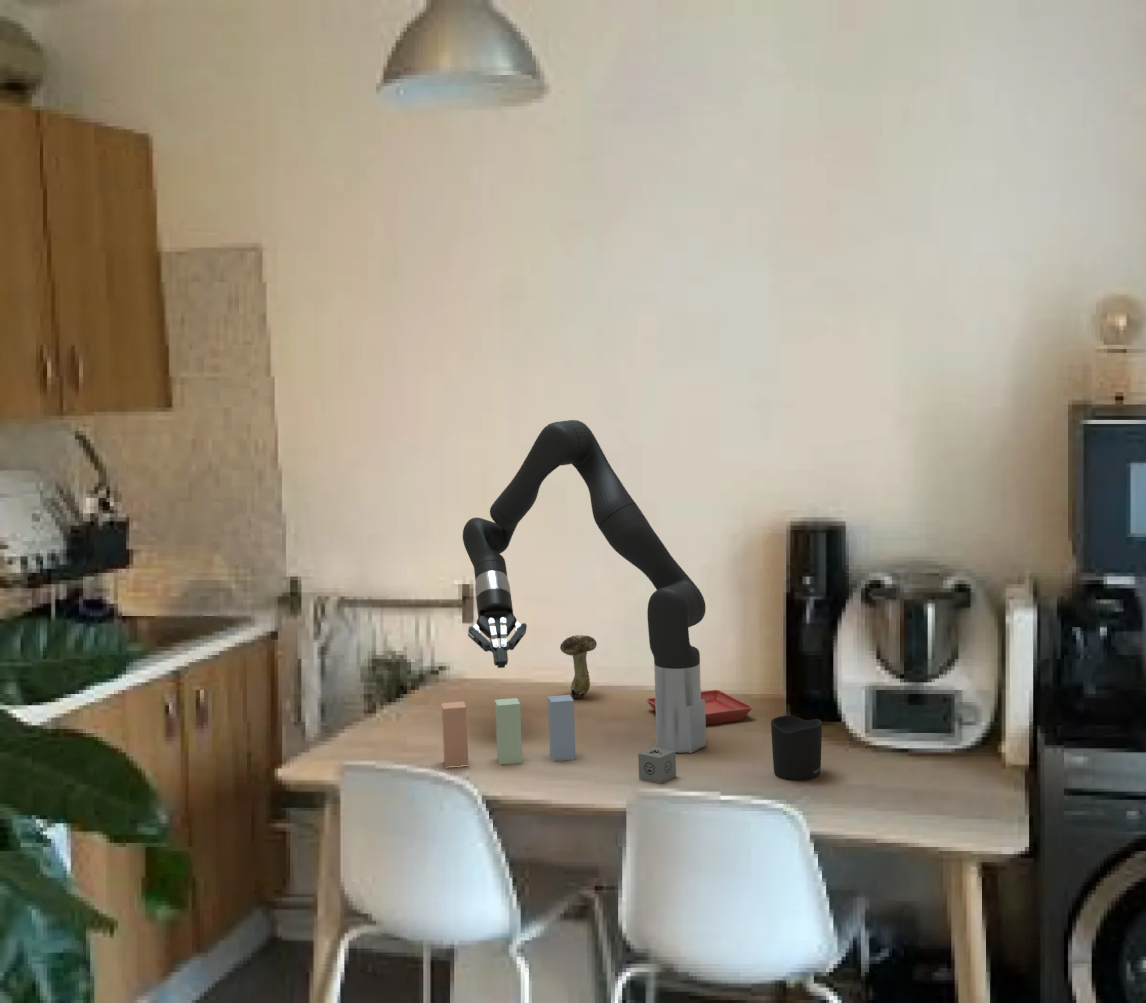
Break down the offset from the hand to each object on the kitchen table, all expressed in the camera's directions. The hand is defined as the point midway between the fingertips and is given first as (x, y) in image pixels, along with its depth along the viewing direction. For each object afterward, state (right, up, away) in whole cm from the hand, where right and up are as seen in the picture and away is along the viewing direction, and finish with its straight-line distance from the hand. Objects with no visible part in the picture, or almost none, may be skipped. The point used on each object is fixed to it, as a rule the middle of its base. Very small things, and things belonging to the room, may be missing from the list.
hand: (501, 665), depth 265 cm
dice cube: (+31, -18, -23) cm, 43 cm away
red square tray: (+43, -14, +18) cm, 48 cm away
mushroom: (+16, -12, +36) cm, 42 cm away
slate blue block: (+13, -17, -9) cm, 23 cm away
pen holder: (+57, -17, -24) cm, 64 cm away
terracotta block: (-8, -18, -11) cm, 23 cm away
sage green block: (+2, -18, -10) cm, 20 cm away
